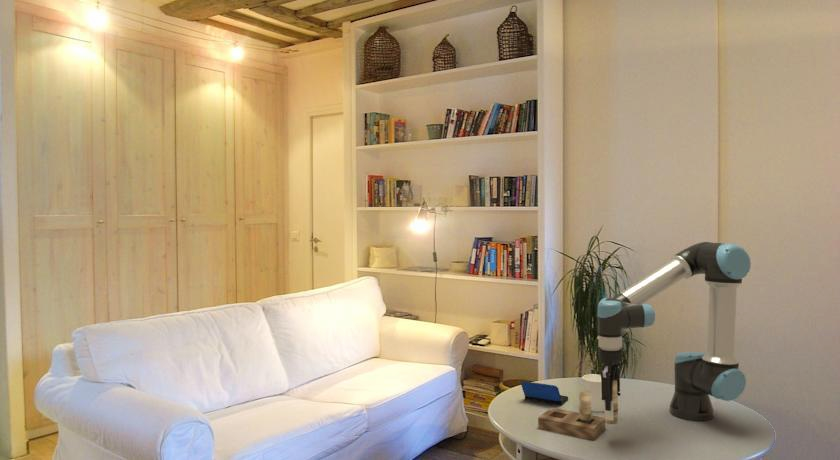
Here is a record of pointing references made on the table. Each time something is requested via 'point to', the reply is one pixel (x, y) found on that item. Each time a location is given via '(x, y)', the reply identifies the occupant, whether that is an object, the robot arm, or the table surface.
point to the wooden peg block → (574, 420)
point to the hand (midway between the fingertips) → (611, 417)
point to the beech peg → (614, 404)
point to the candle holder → (594, 391)
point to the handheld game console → (542, 393)
